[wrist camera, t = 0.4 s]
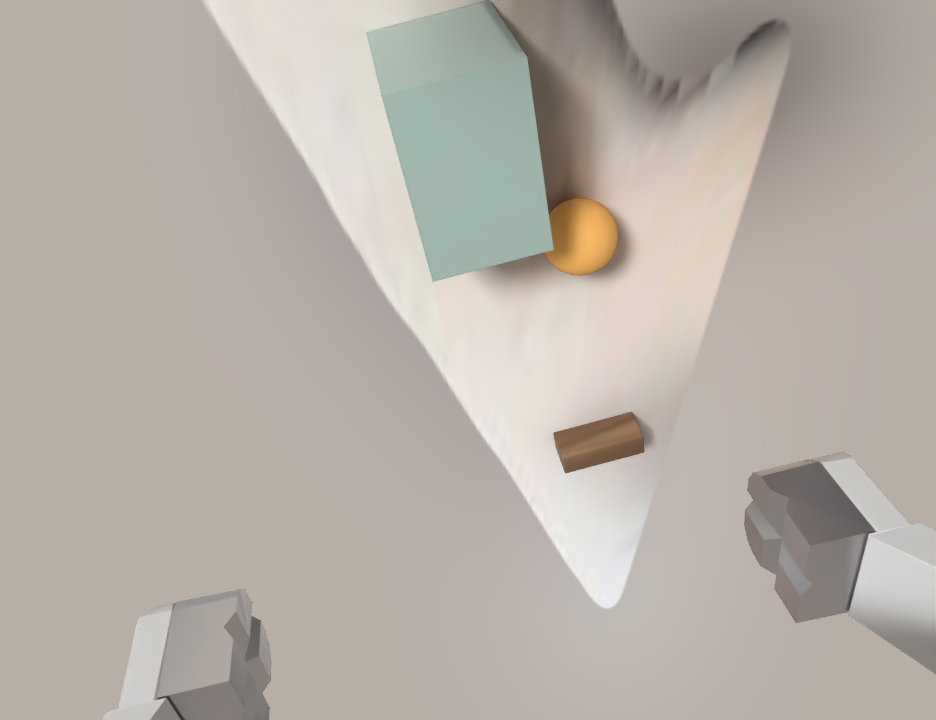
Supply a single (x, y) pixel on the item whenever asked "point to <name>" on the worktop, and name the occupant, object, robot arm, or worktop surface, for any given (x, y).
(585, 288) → the worktop surface
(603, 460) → the strip
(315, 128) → the worktop surface
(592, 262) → the ball
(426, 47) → the sage green upright block
